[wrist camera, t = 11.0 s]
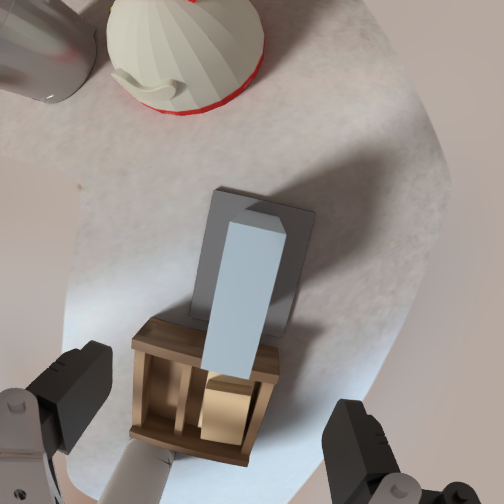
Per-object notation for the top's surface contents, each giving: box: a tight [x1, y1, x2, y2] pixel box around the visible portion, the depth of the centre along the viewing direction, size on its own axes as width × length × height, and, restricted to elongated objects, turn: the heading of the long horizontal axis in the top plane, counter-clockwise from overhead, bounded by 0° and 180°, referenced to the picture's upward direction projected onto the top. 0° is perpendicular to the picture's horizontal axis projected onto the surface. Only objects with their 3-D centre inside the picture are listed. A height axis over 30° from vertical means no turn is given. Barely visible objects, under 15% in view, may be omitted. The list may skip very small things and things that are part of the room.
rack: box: [129, 318, 279, 467], centre depth 29 cm, size 13×13×5 cm
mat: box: [189, 190, 316, 338], centre depth 28 cm, size 12×9×1 cm
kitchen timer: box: [107, 0, 265, 116], centre depth 18 cm, size 14×14×15 cm
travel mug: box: [97, 438, 175, 504], centre depth 24 cm, size 6×7×20 cm
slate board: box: [200, 209, 286, 380], centre depth 23 cm, size 9×3×11 cm, turn 167°
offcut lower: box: [198, 371, 255, 428], centre depth 30 cm, size 8×4×2 cm, turn 167°
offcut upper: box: [201, 379, 252, 445], centre depth 28 cm, size 7×4×2 cm, turn 171°
